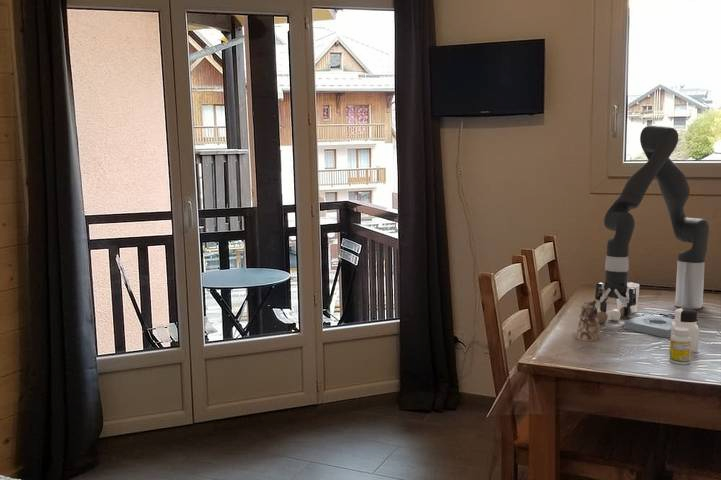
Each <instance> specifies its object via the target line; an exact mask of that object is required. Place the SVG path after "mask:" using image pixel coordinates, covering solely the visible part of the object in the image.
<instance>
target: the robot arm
mask: <svg viewBox="0 0 721 480" xmlns="http://www.w3.org/2000/svg"><path fill="white" fill-rule="evenodd" d="M639 136H640V137H639V140H640V141H639V142H640V147H641V149H642V151H643V152H644V153H643V154H644V155H645V156H646V159H647V160H648V161H647V162H645V164H644V165H642V166H641V167H640V168H639V169H638V170H636V171H635V173H633V174H632V175H631V176H630V177H629V178H628V180H627V181H626V183H625V185H624V187H623V189H622V191H621V193H620V196H619V197H617V199H616V200H615V201H614V202H613V204H612V205H611V206H610V207H609V209H608V210H607V211H606V213H605V215H604V218H603V225H604V226H605V228H606V229H607V230H609V231H611V232H613V231H614V232H615V235H614V237H612V238H610V239H608V241H607V243H606V256H605V257H606V258H605V265H604V282H605V283H604V282H598V283H596V286H595V295H594V299H595V301H599V302H600V303H599V306H600V307H599V312H605V313H606V314H607V307H608V305H607V304H608V302H607V300H608V299H610V298H611V299H612V298H613V299H616V300H617V299H620V301H621V302H622V303H623V305H624V306H625V307H624V311H623V318H625V319H627V318H629V317H630V316H629V315H630V307H631V306H634V305H636V288H628V287H627V283H628V282H629V266H630V263H629V251H630V250H629V247H630V246H629V245H630V242H631V240H632V236H633V233H634V230H635V224H636V223H635V218H634V216H633V214H632V213H630V211H631V210H634V209H637V208H638V207H640V204H641V202H642V200H643V199H644V196H645V194H646V193H647V191H648V189H649V186H650V185H651V183H652V182H653V180H654V178H656V181H657V184H658V186H659V190H660V192H661V195H662V198H663V199H664V202H665V204H666V209H667V211H668V215H669V218H670V222H671V223H670V224H671V226H672V231H673V233H674V237H675V238H676V240H677V241H679V242H683V243H689V244H690V243H691V244H692V246H691V248H690V249H688V250H684V251H681V252H678V255H677V262H676V263H677V265H676V280H675V281H676V283H675V300H674V301H675V302H674V304H675V305H674V306H676V307H679V308H689V309H693V310H695V309H696V310H697V309H701V308H703V298H704V286H705V284H704V283H705V281H704V280H705V261H706V257H707V251H708V241H709V236H710V235H709V233H710V231H709V230H710V228H709V222H708V221H707V220H706V219H704V218H696V217H687V216H686V214H685V210H684V207H685V205H686V203H687V201H688V199H689V197H690V194H691V193H690V192H691V189H690V186H689V183H688V181H687V177H686V175H685V173H684V172H683V170H681V168H680V167H679V166H678V165H677V164H676V163H675V162H674V161H673V160H672V159H671V158H670V157H671V155H672V154H673V153H674V151H675V149H676V148H677V145H678V143H679V133H678V130H677V129H676V128H674V127H672V126H665V125H664V126H663V125H647V126H645V127H644V128H642V130H641V132H640V135H639ZM604 290H605V292H604V293H603V291H604ZM626 292H628V294H629V298H628V296H627V294H626ZM623 297H624V298H623ZM628 316H629V317H628Z"/></svg>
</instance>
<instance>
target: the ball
mask: <svg viewBox="0 0 721 480" xmlns="http://www.w3.org/2000/svg"><path fill="white" fill-rule="evenodd" d="M608 317H609V320H611V321H614V322H616V321H619V320H620V319H621V317H622V316H621V314H620V312H619V311H618V310H617V308H613V309H611V310H609V312H608Z"/></svg>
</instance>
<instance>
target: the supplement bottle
mask: <svg viewBox="0 0 721 480" xmlns="http://www.w3.org/2000/svg"><path fill="white" fill-rule="evenodd" d="M674 334H675V335H672V336H671V337H670V339H671V343H670V342H669V343H670V347H669V361H670V363H672V364H675V365H689V364H690V363H691V356H692V355H691V353H692V352H691V338H690V337H689V336H688V335H689V329H687V328H682V327H676V328H674Z"/></svg>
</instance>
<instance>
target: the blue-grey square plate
mask: <svg viewBox="0 0 721 480" xmlns="http://www.w3.org/2000/svg"><path fill="white" fill-rule="evenodd" d="M674 319H675V318H670V317H665V316H659V315H655V314H650V313H649V314H644V315H641V316H638V317H634V318H630V319H627V320H624V323H623V324H624V326H623V329H624V330H629V331H634V332H639V333H643V334H648V335H651V336H652V335H653V336H657V337H662V338H666V339H667V338H671V323H672V322H674Z"/></svg>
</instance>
